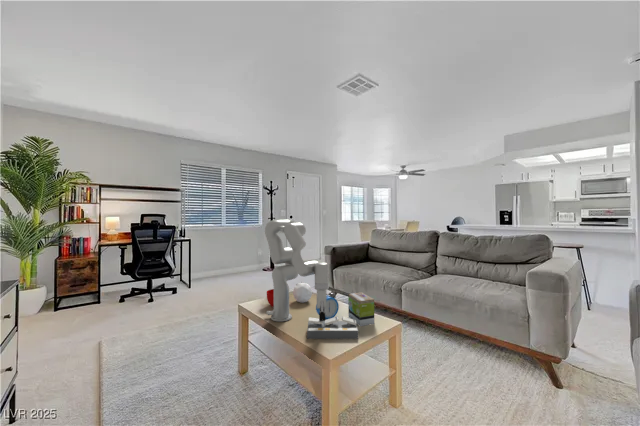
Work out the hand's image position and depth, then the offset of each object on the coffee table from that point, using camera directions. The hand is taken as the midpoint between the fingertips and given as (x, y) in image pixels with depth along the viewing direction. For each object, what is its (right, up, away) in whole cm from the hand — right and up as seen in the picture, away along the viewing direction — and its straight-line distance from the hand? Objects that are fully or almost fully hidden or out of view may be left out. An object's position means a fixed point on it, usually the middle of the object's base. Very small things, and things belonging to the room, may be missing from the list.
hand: (322, 320), depth 149 cm
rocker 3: (+14, -1, 0) cm, 14 cm away
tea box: (+23, -7, +16) cm, 29 cm away
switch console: (+5, -7, -1) cm, 9 cm away
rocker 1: (-4, -1, 0) cm, 4 cm away
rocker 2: (+5, -1, 0) cm, 5 cm away
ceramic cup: (-33, -7, +44) cm, 56 cm away
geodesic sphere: (-14, -7, +51) cm, 54 cm away
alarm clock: (+3, -7, +20) cm, 22 cm away
